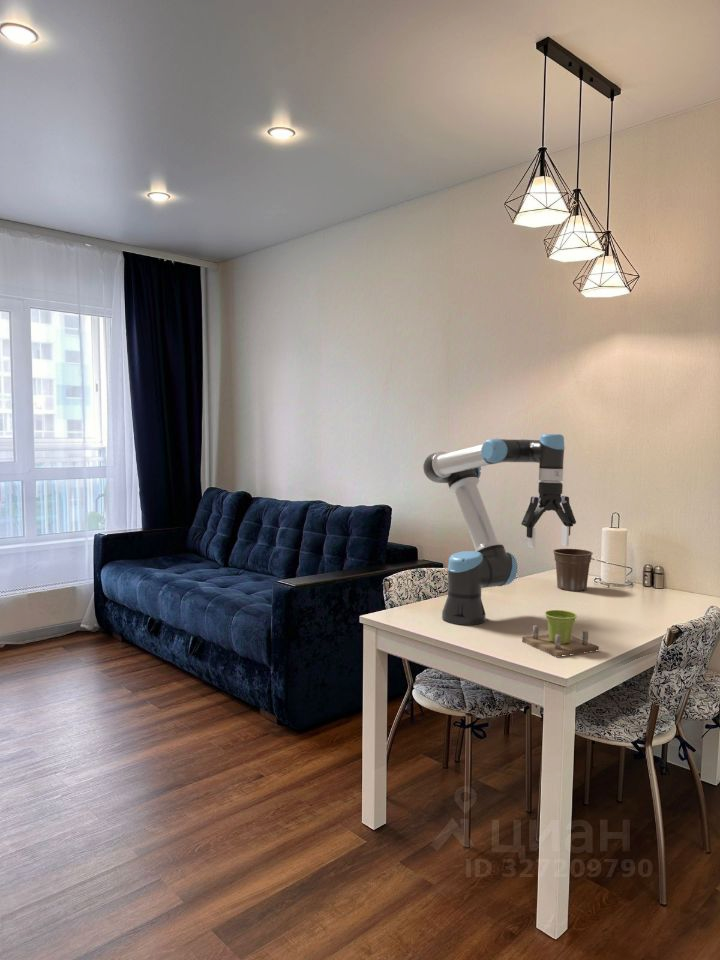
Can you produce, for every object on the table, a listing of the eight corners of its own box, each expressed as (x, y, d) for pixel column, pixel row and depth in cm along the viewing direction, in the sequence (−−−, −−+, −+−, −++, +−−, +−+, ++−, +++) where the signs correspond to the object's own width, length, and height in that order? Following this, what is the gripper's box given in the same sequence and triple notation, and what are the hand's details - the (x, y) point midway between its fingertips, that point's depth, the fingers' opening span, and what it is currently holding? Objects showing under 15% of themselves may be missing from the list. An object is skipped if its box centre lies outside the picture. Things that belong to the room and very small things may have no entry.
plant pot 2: (576, 647, 201) (577, 619, 201) (543, 644, 204) (544, 616, 203) (575, 638, 210) (576, 611, 210) (543, 635, 213) (544, 608, 212)
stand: (522, 641, 211) (522, 624, 211) (562, 636, 218) (563, 619, 217) (556, 657, 197) (557, 638, 196) (598, 651, 203) (599, 633, 203)
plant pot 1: (557, 592, 283) (558, 554, 282) (547, 583, 299) (549, 547, 298) (596, 593, 282) (597, 555, 281) (584, 584, 298) (586, 548, 297)
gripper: (526, 482, 209) (524, 550, 211) (588, 482, 220) (586, 546, 221) (511, 481, 216) (509, 546, 218) (572, 480, 226) (570, 543, 228)
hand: (548, 546), depth 219 cm, fingers open, 13 cm apart
